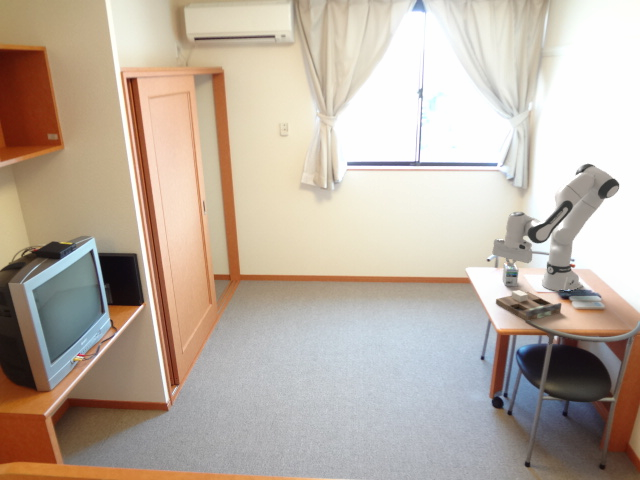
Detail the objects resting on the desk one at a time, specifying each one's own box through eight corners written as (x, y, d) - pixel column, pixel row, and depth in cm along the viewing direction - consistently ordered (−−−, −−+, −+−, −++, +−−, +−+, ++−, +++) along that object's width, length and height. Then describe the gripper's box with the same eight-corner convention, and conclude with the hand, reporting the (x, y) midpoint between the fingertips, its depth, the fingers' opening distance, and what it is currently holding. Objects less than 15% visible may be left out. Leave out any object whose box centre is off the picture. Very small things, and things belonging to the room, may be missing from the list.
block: (518, 295, 256) (519, 290, 255) (527, 300, 251) (527, 294, 250) (511, 297, 254) (512, 291, 253) (519, 302, 249) (520, 296, 248)
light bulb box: (517, 286, 273) (519, 269, 270) (504, 286, 275) (506, 268, 271) (513, 279, 283) (515, 262, 280) (501, 278, 285) (503, 262, 281)
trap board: (527, 295, 262) (528, 287, 260) (560, 312, 242) (561, 303, 241) (495, 303, 254) (496, 294, 252) (527, 321, 235) (528, 312, 233)
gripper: (491, 239, 255) (489, 263, 260) (530, 247, 242) (527, 272, 246) (496, 236, 260) (494, 260, 264) (535, 244, 246) (531, 269, 251)
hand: (510, 266), depth 255 cm, fingers closed
